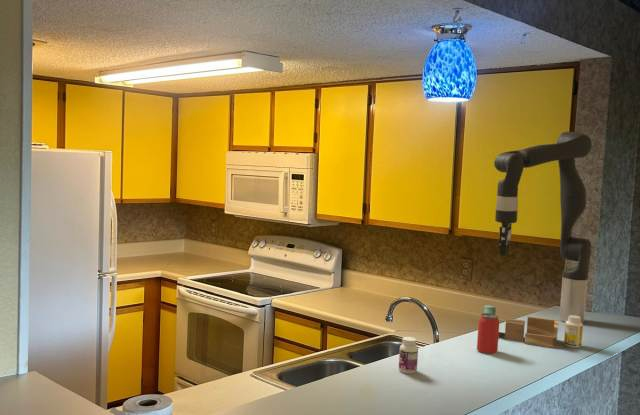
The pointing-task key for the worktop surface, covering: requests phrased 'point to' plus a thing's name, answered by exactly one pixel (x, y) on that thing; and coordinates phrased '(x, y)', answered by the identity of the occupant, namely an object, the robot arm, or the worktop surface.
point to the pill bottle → (408, 355)
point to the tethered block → (509, 326)
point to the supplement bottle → (573, 332)
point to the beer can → (488, 333)
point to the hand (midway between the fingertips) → (504, 253)
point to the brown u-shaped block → (541, 332)
